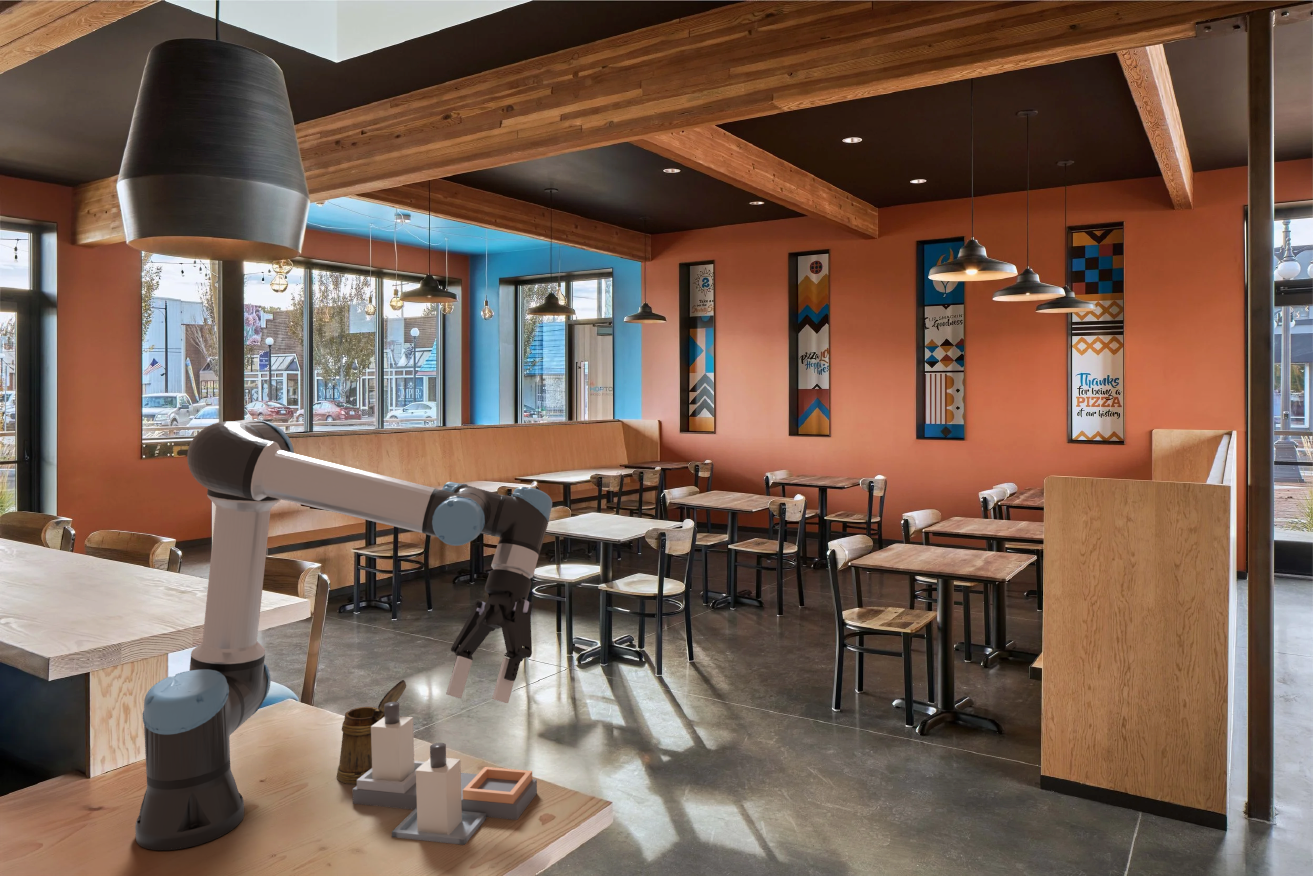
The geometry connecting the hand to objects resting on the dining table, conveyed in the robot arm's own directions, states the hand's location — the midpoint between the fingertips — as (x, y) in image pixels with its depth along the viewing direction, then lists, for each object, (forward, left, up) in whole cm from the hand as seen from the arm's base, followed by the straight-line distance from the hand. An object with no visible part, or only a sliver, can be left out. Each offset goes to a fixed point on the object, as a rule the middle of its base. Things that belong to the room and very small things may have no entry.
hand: (475, 699), depth 136 cm
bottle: (-3, -7, -18) cm, 20 cm away
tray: (-3, -7, -19) cm, 20 cm away
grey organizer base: (-7, +2, -19) cm, 20 cm away
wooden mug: (-24, +9, -19) cm, 32 cm away
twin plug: (-16, +2, -16) cm, 22 cm away
